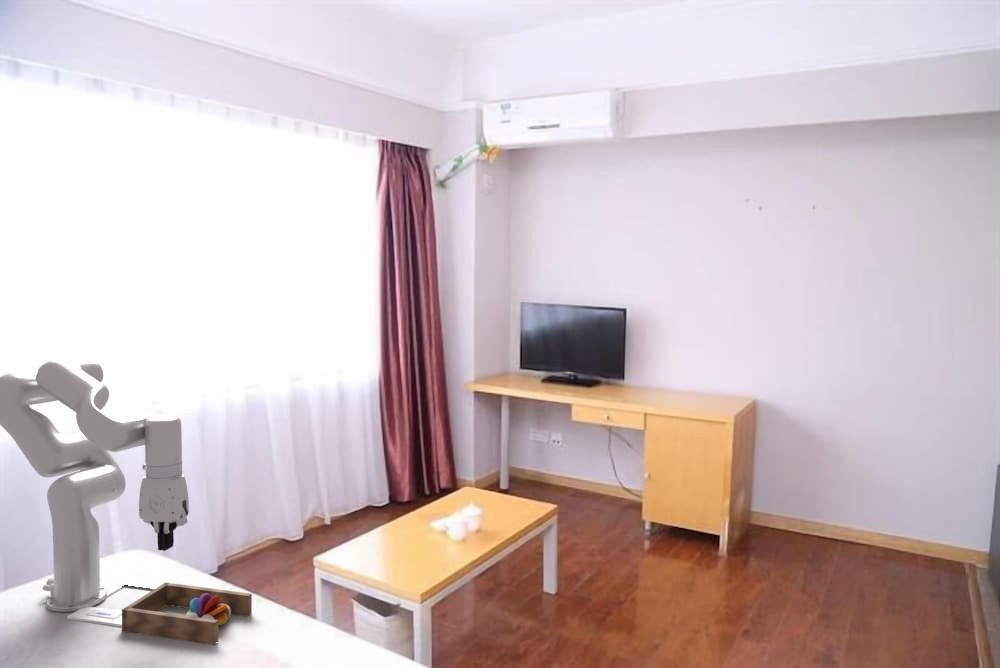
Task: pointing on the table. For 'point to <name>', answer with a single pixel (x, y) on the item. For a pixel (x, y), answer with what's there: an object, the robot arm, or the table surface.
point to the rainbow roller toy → (209, 608)
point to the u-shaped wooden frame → (181, 627)
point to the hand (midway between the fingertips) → (165, 548)
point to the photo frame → (101, 613)
